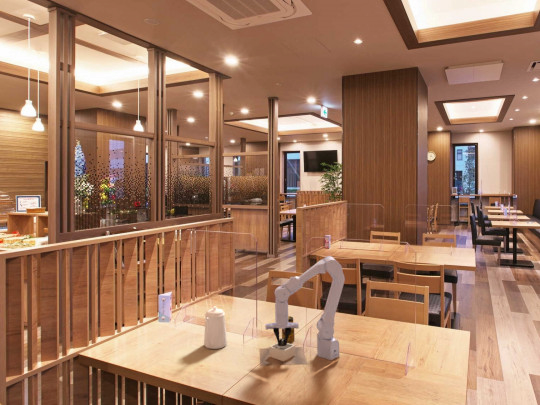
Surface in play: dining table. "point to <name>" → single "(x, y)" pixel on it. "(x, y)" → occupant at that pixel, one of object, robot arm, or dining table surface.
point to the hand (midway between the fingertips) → (282, 344)
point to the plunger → (282, 344)
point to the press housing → (282, 352)
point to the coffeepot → (215, 329)
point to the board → (267, 360)
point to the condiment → (291, 336)
